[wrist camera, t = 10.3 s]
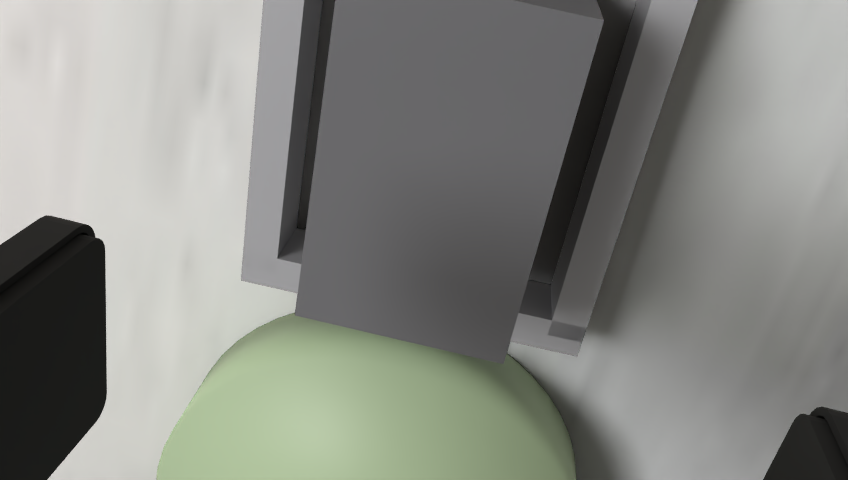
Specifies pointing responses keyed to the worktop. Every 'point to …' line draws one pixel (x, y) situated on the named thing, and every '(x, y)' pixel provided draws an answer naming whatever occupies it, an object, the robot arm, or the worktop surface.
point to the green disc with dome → (391, 358)
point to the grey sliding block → (440, 164)
